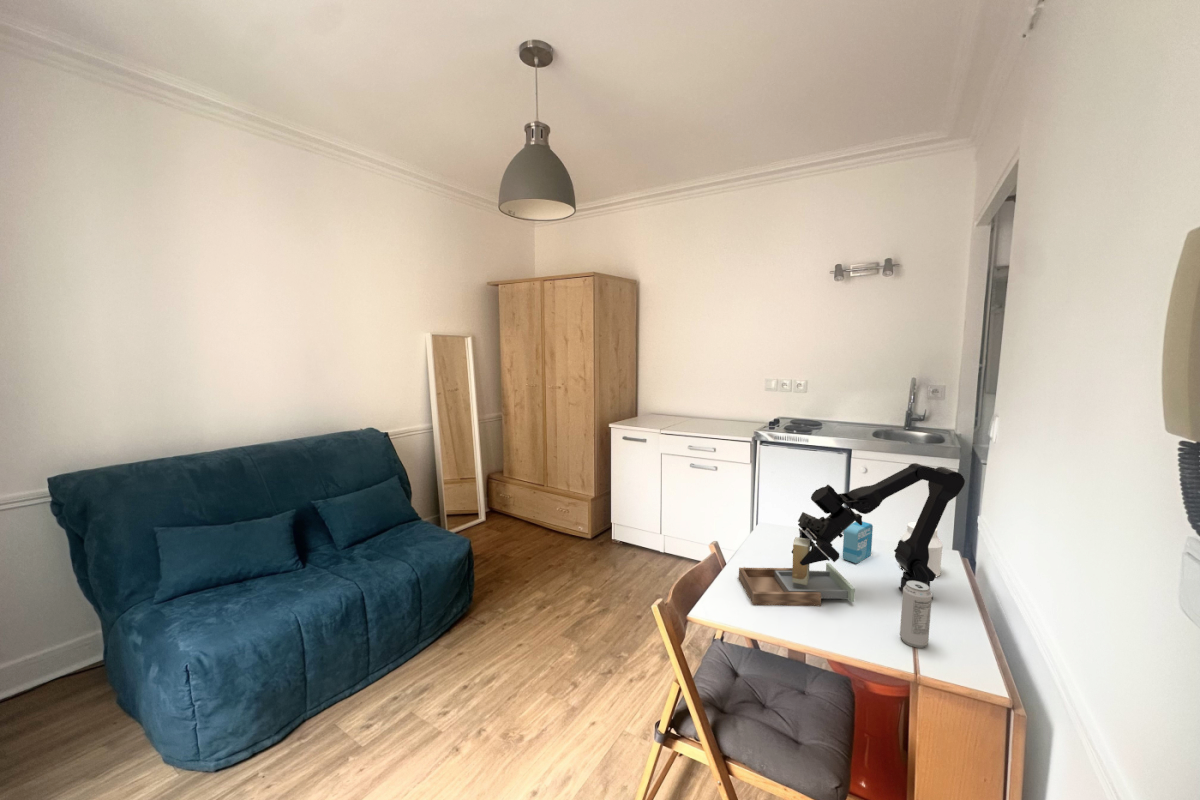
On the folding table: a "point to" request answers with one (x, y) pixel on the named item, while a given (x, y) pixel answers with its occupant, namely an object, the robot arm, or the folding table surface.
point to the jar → (933, 548)
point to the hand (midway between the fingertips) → (796, 558)
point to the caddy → (773, 589)
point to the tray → (819, 583)
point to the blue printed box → (857, 542)
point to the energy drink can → (915, 614)
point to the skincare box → (799, 552)
